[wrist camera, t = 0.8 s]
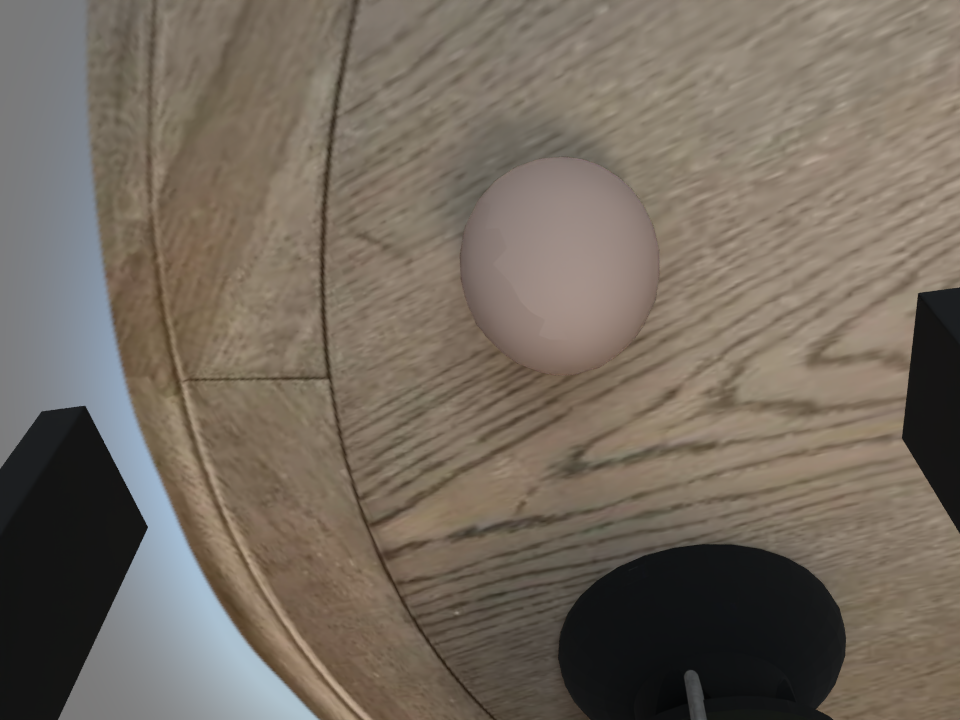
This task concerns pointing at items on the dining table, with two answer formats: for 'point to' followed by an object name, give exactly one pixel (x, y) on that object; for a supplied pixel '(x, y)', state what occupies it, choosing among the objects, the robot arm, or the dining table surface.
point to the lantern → (703, 639)
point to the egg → (560, 265)
